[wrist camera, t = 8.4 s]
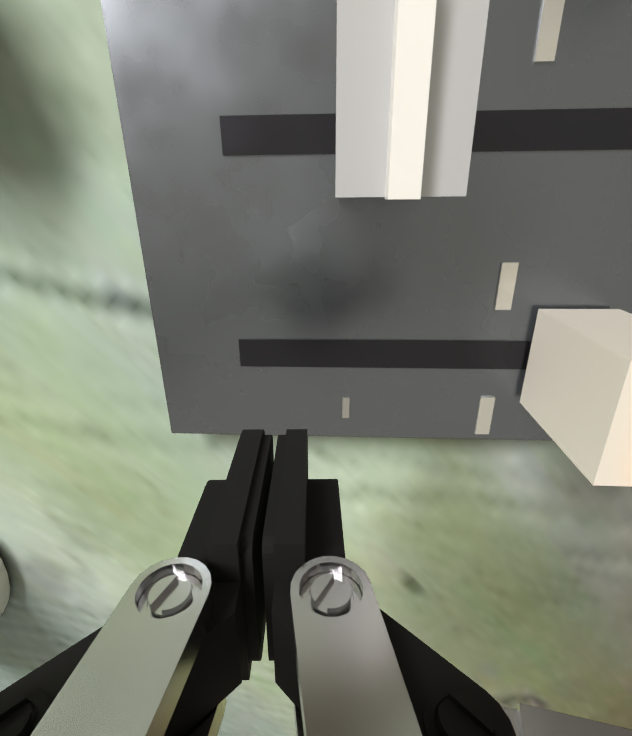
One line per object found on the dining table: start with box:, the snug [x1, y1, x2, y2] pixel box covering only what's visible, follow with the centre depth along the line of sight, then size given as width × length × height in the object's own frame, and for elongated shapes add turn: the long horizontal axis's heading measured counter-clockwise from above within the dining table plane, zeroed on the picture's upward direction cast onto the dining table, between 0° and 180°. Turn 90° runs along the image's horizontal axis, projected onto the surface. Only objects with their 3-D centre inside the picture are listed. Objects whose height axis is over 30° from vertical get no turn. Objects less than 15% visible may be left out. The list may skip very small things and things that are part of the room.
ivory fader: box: [520, 309, 632, 486], centre depth 14 cm, size 4×3×6 cm
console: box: [101, 0, 632, 440], centre depth 16 cm, size 16×24×2 cm, turn 91°
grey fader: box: [335, 0, 490, 200], centre depth 11 cm, size 4×3×6 cm
